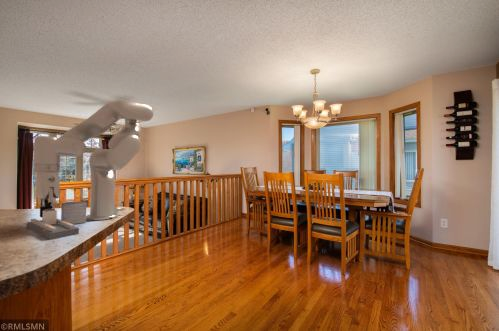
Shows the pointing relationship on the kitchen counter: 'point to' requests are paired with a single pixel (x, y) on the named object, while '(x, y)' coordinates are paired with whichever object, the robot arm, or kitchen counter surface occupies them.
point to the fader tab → (49, 216)
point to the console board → (52, 228)
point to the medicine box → (74, 212)
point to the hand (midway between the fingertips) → (45, 216)
